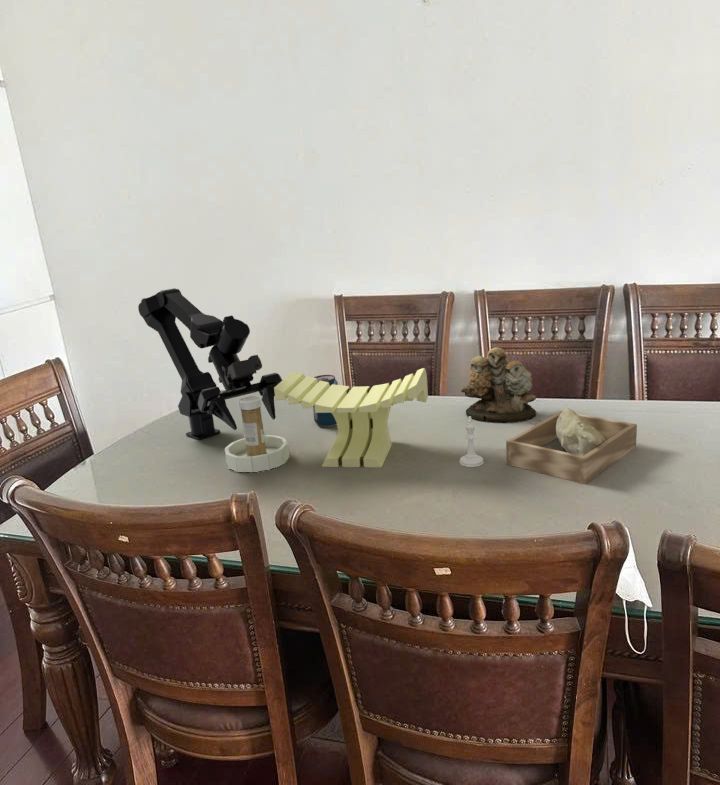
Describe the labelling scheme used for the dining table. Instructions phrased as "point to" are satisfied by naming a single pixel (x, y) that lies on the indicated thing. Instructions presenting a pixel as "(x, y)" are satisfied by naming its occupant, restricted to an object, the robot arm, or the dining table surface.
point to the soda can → (325, 418)
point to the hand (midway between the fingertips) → (255, 423)
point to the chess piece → (471, 448)
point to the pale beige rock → (577, 433)
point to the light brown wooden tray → (565, 465)
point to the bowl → (244, 463)
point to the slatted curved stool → (354, 413)
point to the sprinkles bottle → (253, 425)
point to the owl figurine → (499, 389)
